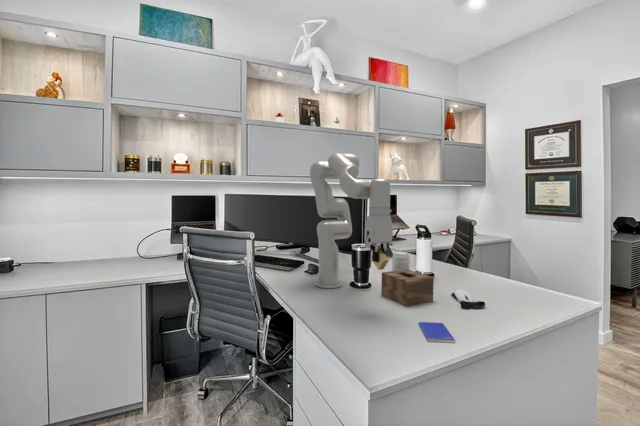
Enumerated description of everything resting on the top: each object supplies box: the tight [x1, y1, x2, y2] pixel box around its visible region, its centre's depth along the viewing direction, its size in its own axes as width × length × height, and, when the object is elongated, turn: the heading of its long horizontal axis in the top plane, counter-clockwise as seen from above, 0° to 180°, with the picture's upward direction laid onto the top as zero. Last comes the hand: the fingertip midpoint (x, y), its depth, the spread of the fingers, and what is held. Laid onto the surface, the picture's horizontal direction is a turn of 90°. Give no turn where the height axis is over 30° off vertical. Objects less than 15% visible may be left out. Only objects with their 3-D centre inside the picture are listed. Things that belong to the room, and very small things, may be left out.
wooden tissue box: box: [380, 269, 435, 307], centre depth 134 cm, size 16×14×10 cm
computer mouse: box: [450, 289, 486, 310], centre depth 131 cm, size 10×18×4 cm, turn 0°
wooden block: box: [370, 247, 390, 271], centre depth 118 cm, size 5×2×6 cm
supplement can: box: [391, 251, 411, 271], centre depth 158 cm, size 8×8×15 cm
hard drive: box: [417, 321, 456, 344], centre depth 101 cm, size 2×8×12 cm
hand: (378, 260), depth 119 cm, fingers closed on wooden block, 2 cm apart
